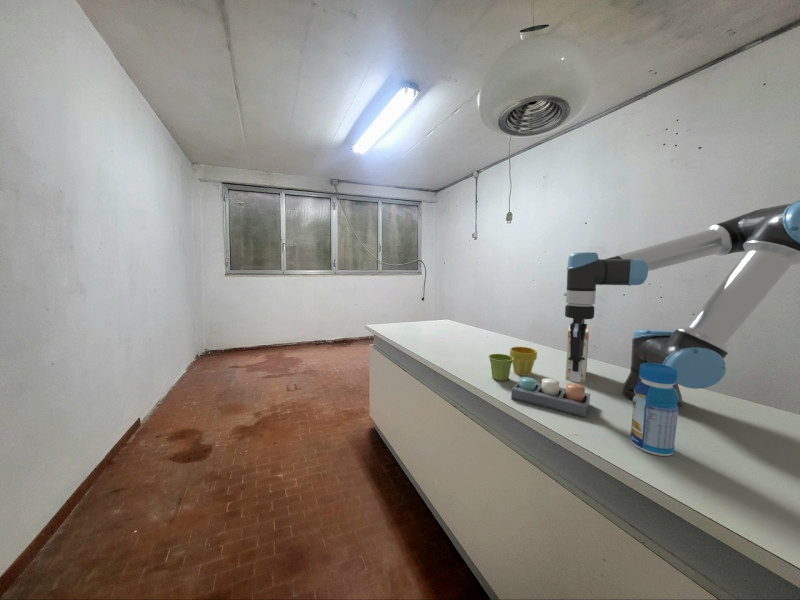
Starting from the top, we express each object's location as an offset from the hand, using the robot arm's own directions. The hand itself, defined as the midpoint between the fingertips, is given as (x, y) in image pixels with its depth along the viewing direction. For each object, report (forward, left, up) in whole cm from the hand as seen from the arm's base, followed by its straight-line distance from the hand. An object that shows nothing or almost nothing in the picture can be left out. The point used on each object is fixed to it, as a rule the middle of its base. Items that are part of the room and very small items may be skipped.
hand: (575, 380), depth 92 cm
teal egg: (+14, 0, -7) cm, 16 cm away
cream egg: (+7, 0, -6) cm, 9 cm away
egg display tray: (+7, 0, -9) cm, 11 cm away
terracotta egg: (0, 0, -6) cm, 6 cm away
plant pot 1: (+27, -11, -9) cm, 30 cm away
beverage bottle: (-18, +12, -9) cm, 23 cm away
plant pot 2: (+22, -23, -9) cm, 33 cm away
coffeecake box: (+4, -33, -9) cm, 34 cm away
